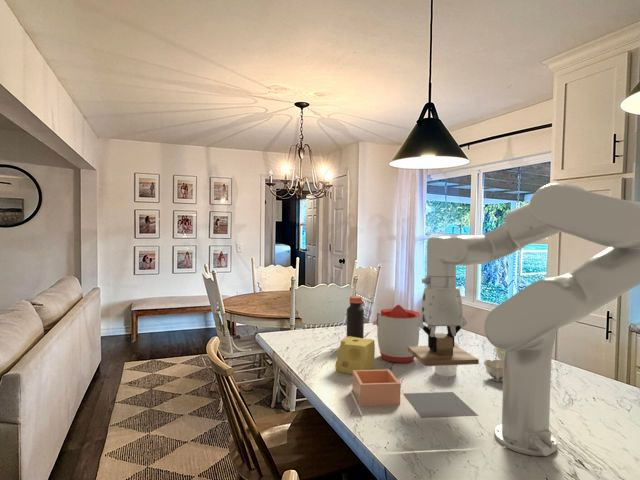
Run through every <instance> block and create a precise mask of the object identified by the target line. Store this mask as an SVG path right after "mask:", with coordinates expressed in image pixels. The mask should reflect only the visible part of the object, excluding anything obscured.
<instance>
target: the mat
mask: <svg viewBox="0 0 640 480" xmlns="http://www.w3.org/2000/svg"><path fill="white" fill-rule="evenodd" d="M403 396H404V398H406V400H407V401H408V403H410V405H411V406H412V407H413V409H414V410H415V411H416V413H417V415H418V416H419V417H420V418H422V419H425V418H431V419H432V418H452V417H453V418H454V417H457V418H458V417H477V416H479V415H478V413H477V412H475V411H474V410H473V409H472V408H471V407H470V406H469V405H468V404H466V403H465V402H464V401H463V400H462V399H461V398H460V397H459V396H457V393H454V391H439V392H436V391H435V392H410V393H407V392H405V393H403Z"/></svg>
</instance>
